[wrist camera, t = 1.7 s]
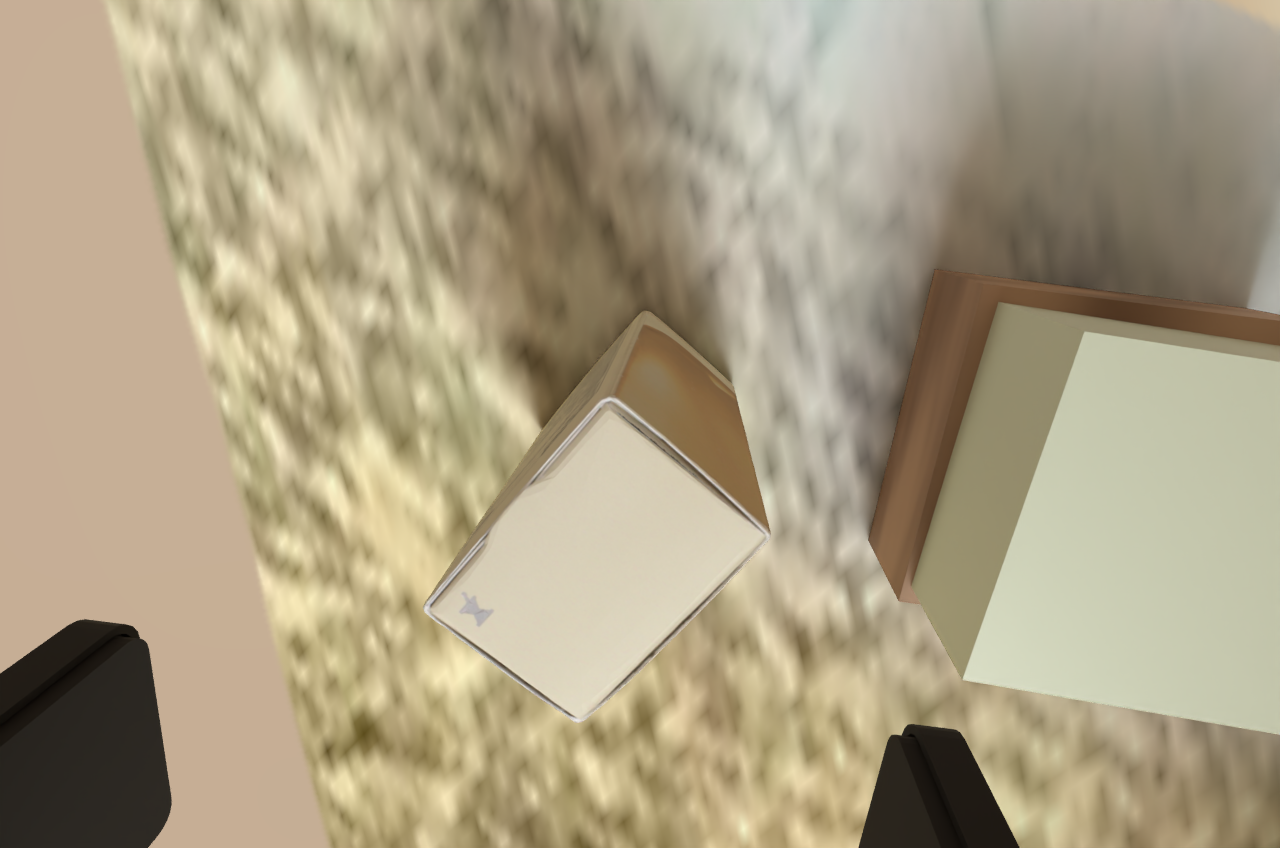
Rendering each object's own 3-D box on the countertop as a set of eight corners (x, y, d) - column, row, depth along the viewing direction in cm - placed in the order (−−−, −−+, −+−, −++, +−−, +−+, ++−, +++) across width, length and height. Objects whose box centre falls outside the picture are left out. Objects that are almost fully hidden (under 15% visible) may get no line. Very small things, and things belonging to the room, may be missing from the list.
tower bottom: (1239, 306, 23) (1362, 331, 19) (1136, 574, 26) (1222, 647, 22) (931, 268, 23) (984, 283, 19) (866, 536, 26) (898, 601, 22)
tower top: (1332, 353, 19) (1517, 399, 15) (1200, 635, 22) (1323, 742, 17) (998, 301, 19) (1084, 331, 15) (911, 586, 22) (962, 679, 18)
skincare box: (627, 503, 26) (572, 742, 15) (537, 431, 26) (405, 620, 14) (743, 379, 25) (784, 540, 13) (649, 297, 24) (604, 391, 12)
